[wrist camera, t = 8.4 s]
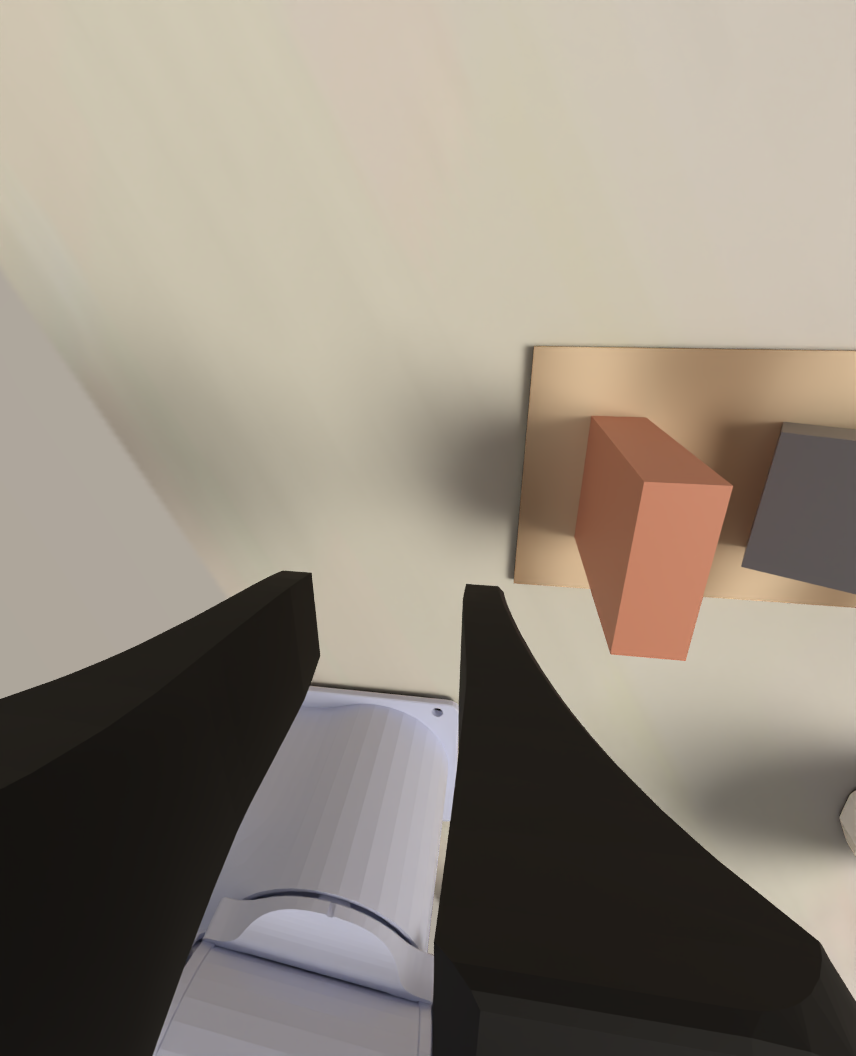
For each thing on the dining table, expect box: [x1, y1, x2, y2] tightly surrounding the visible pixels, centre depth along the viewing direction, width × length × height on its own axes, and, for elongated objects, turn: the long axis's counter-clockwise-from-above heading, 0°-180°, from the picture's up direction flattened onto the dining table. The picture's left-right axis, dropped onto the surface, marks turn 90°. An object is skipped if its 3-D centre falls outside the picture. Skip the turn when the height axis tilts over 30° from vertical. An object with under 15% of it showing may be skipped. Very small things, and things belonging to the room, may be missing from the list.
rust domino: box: [574, 416, 733, 661], centre depth 15 cm, size 2×5×7 cm, turn 179°
